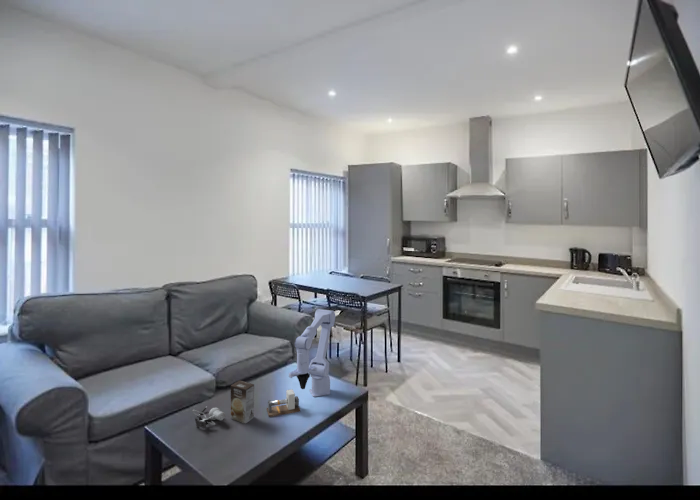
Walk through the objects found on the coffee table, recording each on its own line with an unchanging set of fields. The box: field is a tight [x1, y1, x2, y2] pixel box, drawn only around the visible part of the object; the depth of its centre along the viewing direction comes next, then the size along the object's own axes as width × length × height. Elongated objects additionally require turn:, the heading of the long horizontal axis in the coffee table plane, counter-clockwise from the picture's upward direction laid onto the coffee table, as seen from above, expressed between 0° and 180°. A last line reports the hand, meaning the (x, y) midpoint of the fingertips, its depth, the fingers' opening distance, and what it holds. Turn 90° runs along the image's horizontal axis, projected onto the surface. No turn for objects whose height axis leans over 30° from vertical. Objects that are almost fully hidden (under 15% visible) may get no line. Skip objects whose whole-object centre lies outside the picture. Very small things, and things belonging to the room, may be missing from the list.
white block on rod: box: [285, 388, 296, 410], centre depth 181 cm, size 3×5×7 cm, turn 21°
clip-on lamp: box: [192, 406, 226, 429], centre depth 170 cm, size 12×6×18 cm
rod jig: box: [266, 395, 301, 418], centre depth 180 cm, size 15×7×6 cm, turn 111°
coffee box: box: [230, 379, 255, 424], centre depth 173 cm, size 9×6×16 cm
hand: (302, 388), depth 183 cm, fingers closed
